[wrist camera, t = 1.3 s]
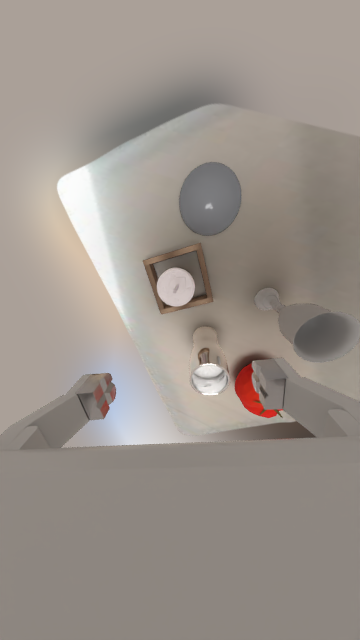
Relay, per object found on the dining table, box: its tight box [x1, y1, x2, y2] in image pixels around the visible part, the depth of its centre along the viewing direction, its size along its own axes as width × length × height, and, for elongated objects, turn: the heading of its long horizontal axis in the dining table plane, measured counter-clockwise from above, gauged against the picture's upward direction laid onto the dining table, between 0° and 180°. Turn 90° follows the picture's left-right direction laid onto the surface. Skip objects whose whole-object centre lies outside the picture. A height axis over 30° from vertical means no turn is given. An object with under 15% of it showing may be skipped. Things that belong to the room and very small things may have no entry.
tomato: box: [235, 363, 283, 418], centre depth 39 cm, size 12×12×11 cm
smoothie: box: [157, 268, 195, 306], centre depth 30 cm, size 6×6×14 cm
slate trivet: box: [179, 162, 241, 236], centre depth 31 cm, size 11×11×1 cm
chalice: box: [254, 288, 360, 362], centre depth 28 cm, size 7×7×18 cm
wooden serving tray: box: [143, 243, 213, 314], centre depth 35 cm, size 12×12×3 cm
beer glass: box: [189, 326, 230, 396], centre depth 34 cm, size 7×7×15 cm
